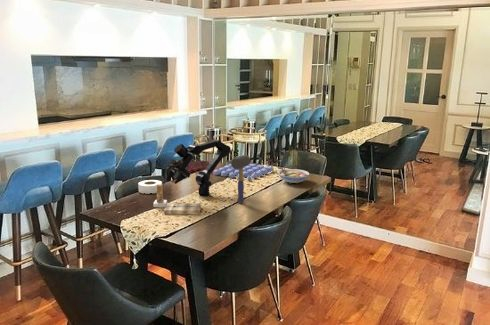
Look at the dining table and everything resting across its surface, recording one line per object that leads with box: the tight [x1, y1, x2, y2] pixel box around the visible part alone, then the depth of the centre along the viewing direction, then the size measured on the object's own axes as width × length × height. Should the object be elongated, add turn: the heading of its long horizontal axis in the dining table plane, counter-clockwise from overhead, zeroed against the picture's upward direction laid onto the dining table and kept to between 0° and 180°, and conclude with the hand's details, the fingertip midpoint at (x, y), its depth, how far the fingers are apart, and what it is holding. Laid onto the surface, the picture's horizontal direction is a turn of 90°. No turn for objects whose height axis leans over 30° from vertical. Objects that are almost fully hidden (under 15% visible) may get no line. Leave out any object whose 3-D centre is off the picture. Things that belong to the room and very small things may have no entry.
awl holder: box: [152, 199, 168, 208], centre depth 243 cm, size 7×7×2 cm
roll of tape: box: [137, 179, 163, 195], centre depth 273 cm, size 16×16×6 cm
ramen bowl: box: [277, 167, 310, 184], centre depth 293 cm, size 25×23×8 cm
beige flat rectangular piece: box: [163, 202, 202, 215], centre depth 234 cm, size 20×12×3 cm, turn 91°
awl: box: [156, 183, 165, 203], centre depth 242 cm, size 4×4×13 cm
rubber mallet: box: [230, 154, 251, 204], centre depth 245 cm, size 12×8×30 cm, turn 146°
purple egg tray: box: [212, 163, 273, 181], centre depth 317 cm, size 35×34×5 cm
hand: (170, 181), depth 245 cm, fingers open, 9 cm apart
